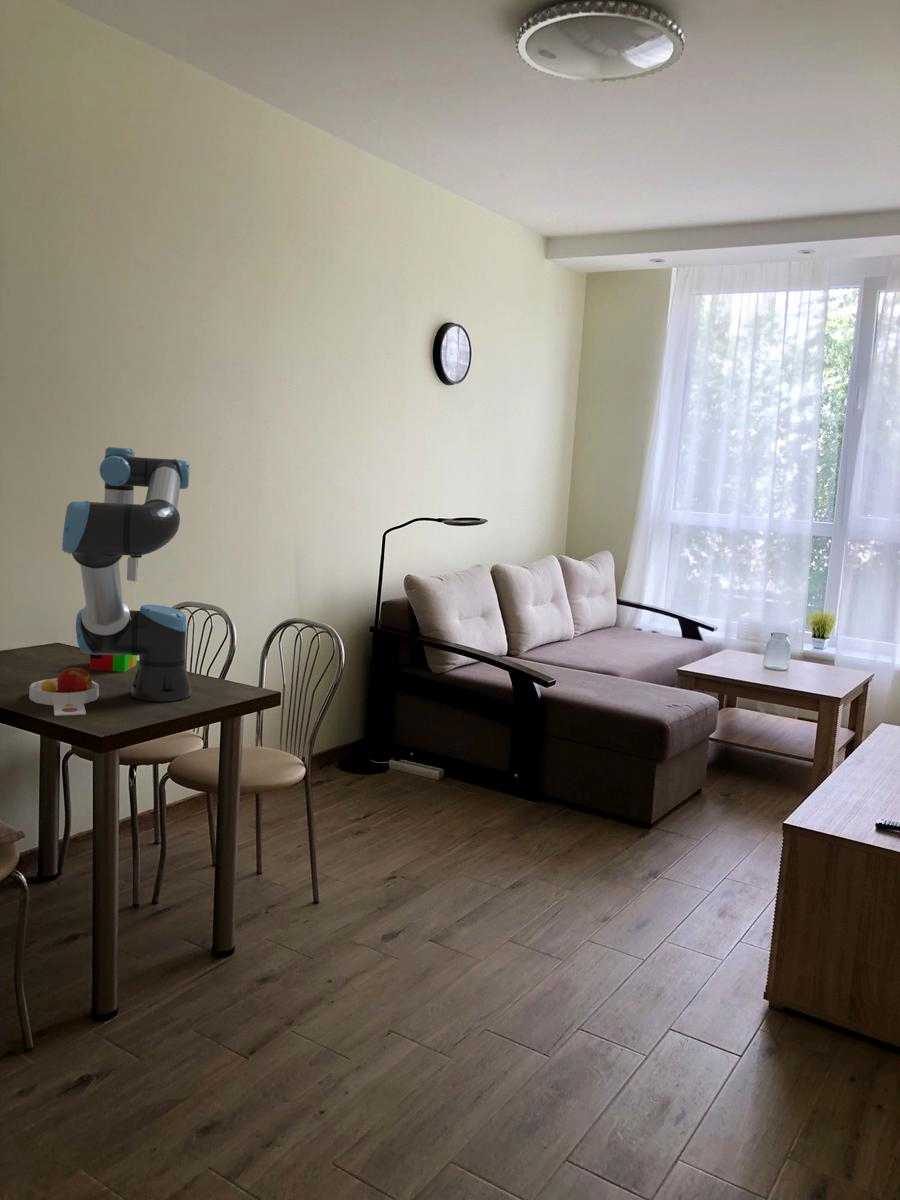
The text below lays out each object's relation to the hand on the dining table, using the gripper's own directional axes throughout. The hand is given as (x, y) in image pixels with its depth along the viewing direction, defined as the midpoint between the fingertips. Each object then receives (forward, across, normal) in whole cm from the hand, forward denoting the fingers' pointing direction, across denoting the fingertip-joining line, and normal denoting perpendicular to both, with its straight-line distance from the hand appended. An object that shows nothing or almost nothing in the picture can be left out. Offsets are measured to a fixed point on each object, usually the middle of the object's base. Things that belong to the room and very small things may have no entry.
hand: (117, 583), depth 273 cm
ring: (+27, +23, +2) cm, 35 cm away
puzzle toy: (+27, -12, -9) cm, 31 cm away
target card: (+27, +32, +10) cm, 43 cm away
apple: (+27, +23, +4) cm, 35 cm away
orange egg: (+27, +23, -3) cm, 35 cm away
